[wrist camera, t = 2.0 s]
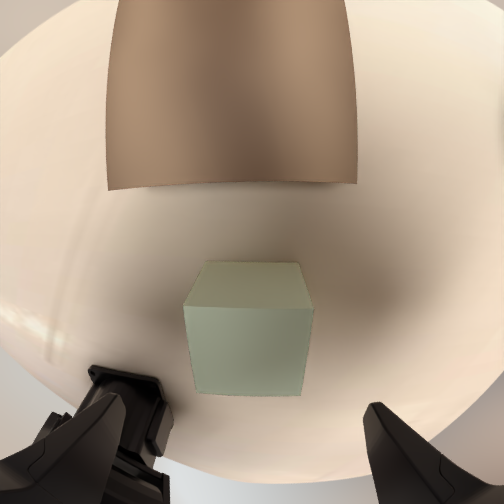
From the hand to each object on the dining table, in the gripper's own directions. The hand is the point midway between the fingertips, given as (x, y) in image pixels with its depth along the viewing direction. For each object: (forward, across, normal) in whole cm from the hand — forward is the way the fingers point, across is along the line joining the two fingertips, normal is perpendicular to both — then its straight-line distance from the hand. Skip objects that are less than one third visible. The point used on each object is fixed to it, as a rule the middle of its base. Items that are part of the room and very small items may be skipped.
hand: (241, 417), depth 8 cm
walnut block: (+8, +1, -12) cm, 15 cm away
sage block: (+8, 0, 0) cm, 8 cm away
